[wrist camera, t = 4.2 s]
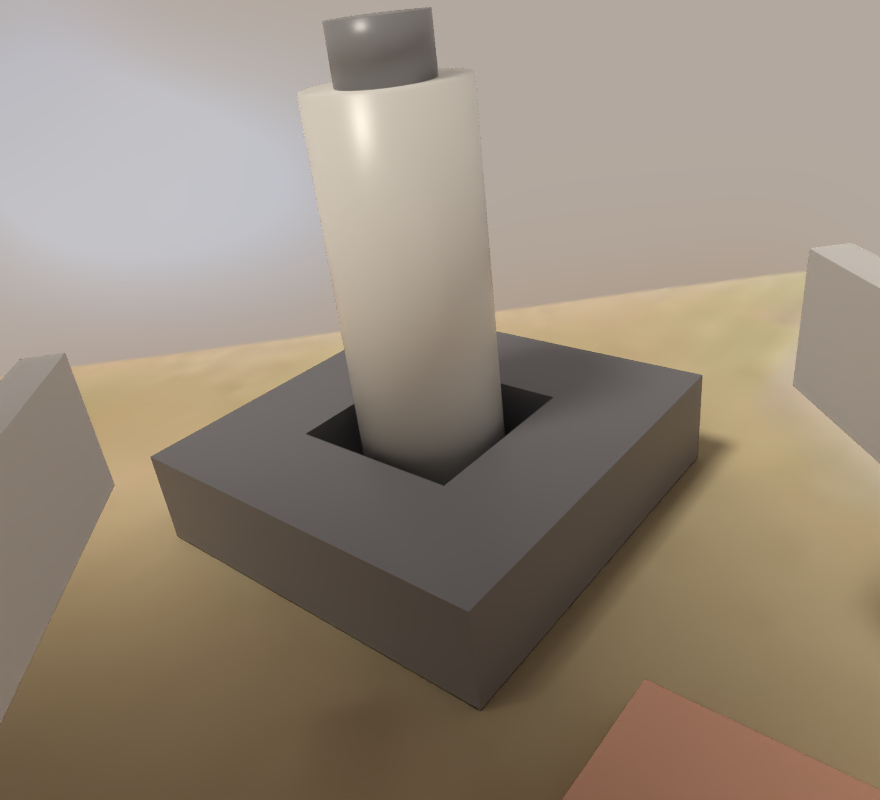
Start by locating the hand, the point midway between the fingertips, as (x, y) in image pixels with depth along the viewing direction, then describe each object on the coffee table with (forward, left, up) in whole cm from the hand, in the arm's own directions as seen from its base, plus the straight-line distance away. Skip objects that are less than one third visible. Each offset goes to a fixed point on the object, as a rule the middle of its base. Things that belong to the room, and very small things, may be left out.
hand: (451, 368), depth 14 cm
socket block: (-6, +6, -8) cm, 12 cm away
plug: (-6, +6, -8) cm, 11 cm away
